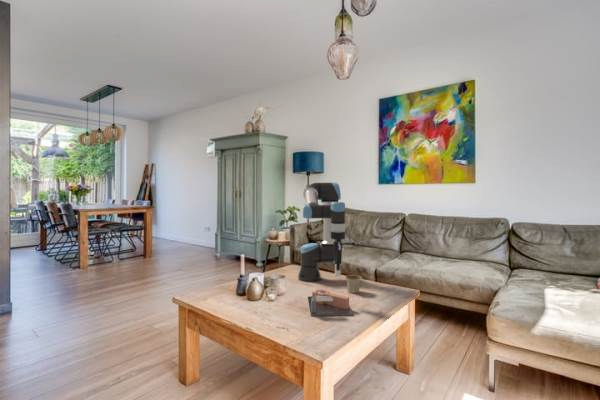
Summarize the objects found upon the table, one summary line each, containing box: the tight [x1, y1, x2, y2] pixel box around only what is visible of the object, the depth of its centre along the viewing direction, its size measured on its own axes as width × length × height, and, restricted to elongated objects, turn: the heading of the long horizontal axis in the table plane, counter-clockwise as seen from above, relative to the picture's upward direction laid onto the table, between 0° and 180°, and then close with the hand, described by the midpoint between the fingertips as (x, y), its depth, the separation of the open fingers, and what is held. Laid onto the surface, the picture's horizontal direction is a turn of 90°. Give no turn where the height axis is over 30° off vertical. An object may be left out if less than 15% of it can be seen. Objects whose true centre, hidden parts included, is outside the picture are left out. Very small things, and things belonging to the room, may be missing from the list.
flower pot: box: [345, 274, 363, 294], centre depth 181 cm, size 9×9×9 cm
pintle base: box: [307, 288, 354, 317], centre depth 159 cm, size 24×20×8 cm
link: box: [311, 288, 350, 309], centre depth 160 cm, size 19×7×5 cm, turn 52°
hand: (337, 275), depth 164 cm, fingers closed
